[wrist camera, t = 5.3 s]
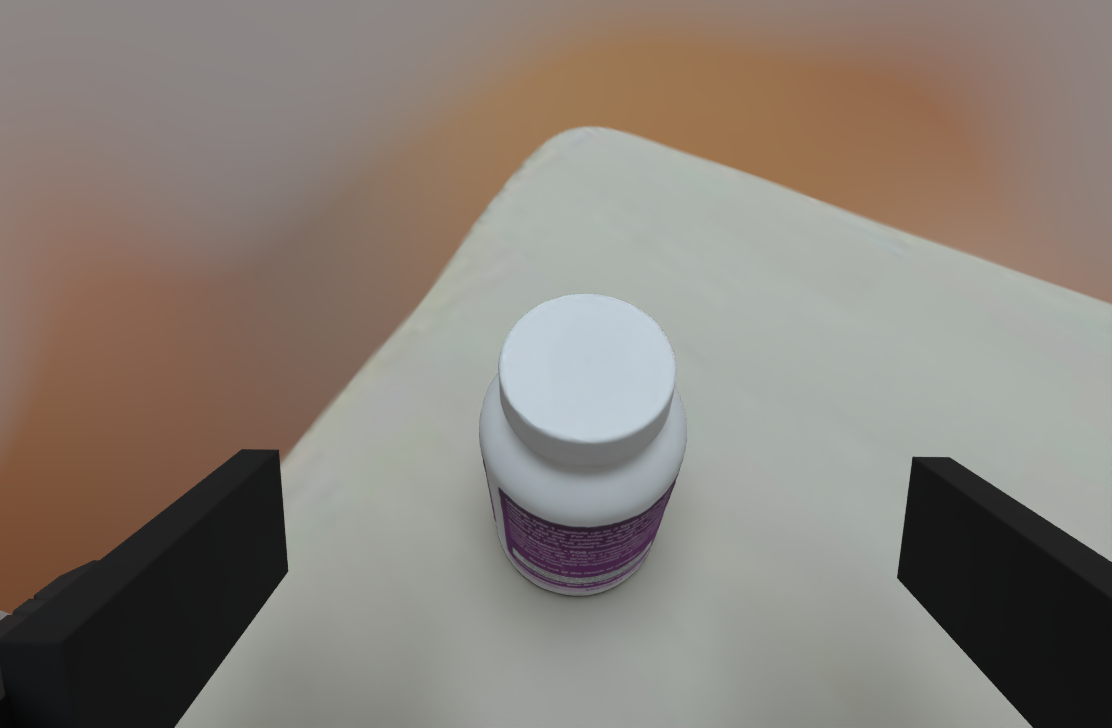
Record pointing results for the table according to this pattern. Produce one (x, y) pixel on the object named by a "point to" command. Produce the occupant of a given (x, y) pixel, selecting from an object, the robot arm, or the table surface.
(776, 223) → the table surface
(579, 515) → the pill bottle
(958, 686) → the table surface
